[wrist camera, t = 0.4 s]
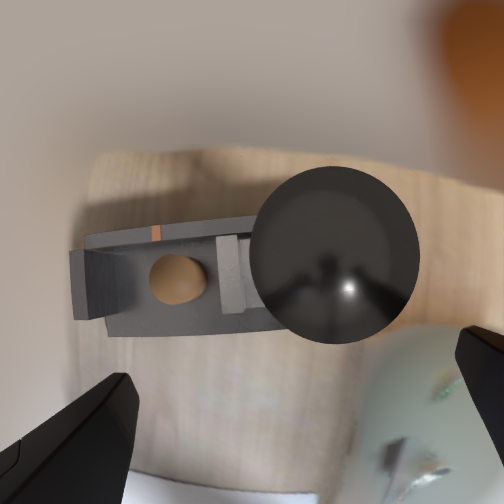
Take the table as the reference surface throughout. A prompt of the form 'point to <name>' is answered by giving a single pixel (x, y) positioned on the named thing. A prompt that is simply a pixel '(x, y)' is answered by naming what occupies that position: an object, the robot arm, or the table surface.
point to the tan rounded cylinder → (177, 279)
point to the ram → (324, 257)
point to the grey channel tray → (138, 288)
